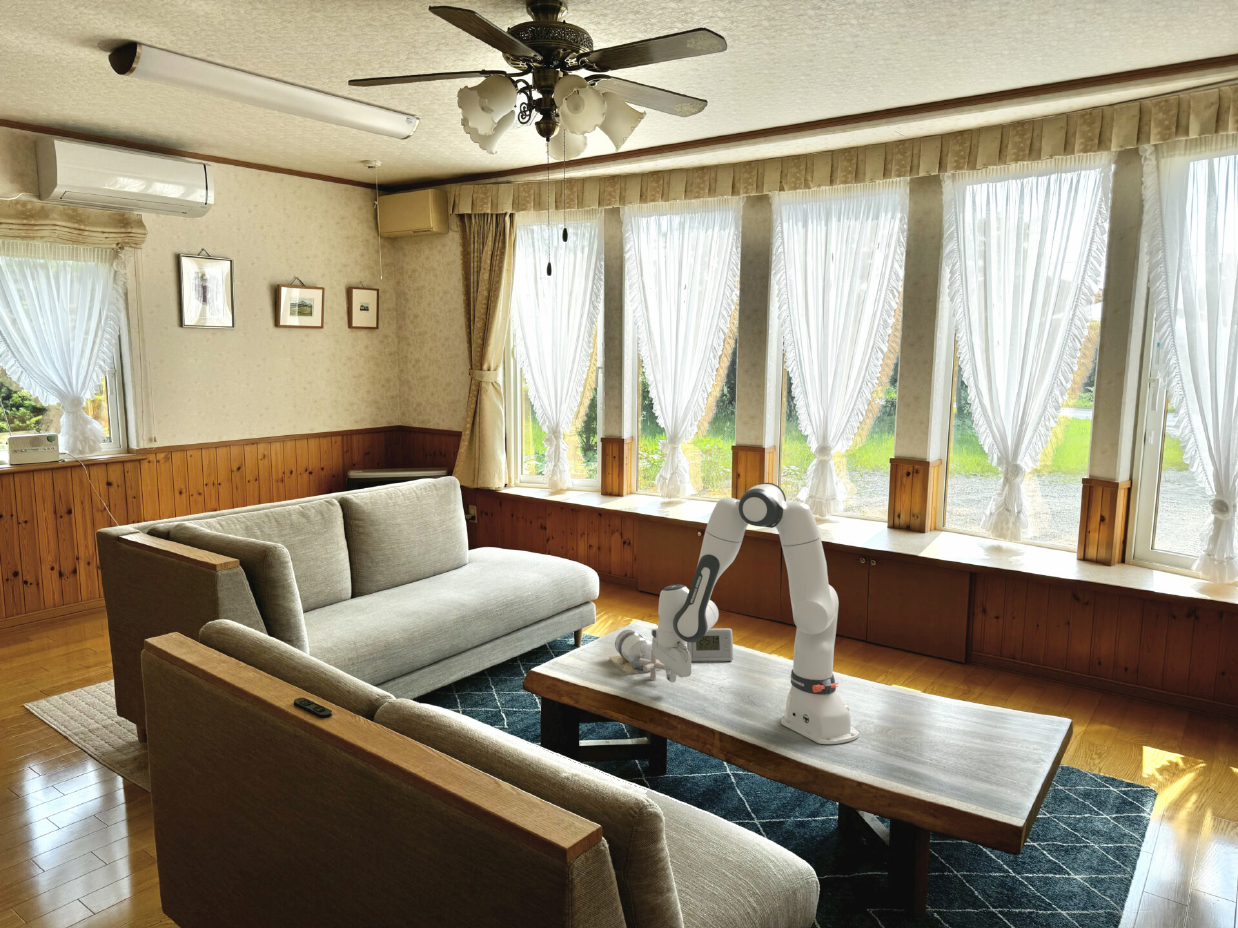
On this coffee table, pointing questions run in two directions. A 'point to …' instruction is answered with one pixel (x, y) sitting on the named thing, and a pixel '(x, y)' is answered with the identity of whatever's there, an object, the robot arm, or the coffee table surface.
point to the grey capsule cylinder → (631, 652)
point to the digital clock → (713, 646)
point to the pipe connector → (652, 665)
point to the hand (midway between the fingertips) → (671, 680)
